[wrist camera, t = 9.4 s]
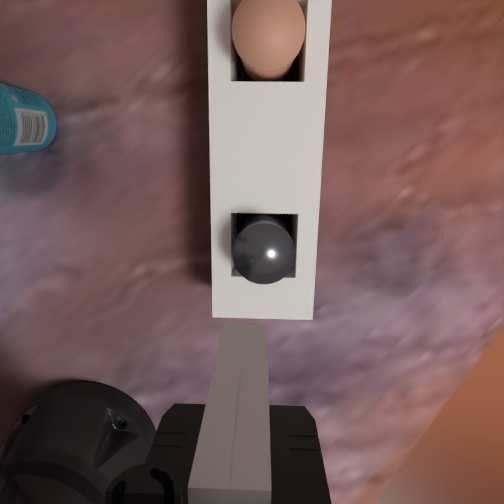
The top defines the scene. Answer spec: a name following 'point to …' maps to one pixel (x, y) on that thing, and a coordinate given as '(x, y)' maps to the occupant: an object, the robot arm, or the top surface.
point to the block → (266, 162)
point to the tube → (24, 121)
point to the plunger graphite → (263, 249)
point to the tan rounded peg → (268, 37)
